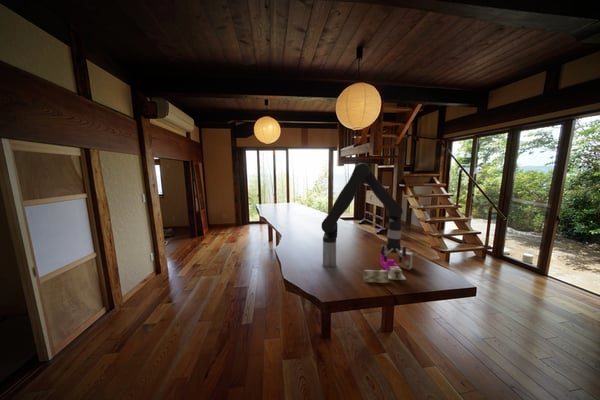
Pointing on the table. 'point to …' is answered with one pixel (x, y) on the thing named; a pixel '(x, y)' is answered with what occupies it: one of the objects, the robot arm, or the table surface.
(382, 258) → the toy block
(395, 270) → the birch cube
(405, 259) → the small box
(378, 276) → the screen
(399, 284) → the table surface
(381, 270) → the pad
